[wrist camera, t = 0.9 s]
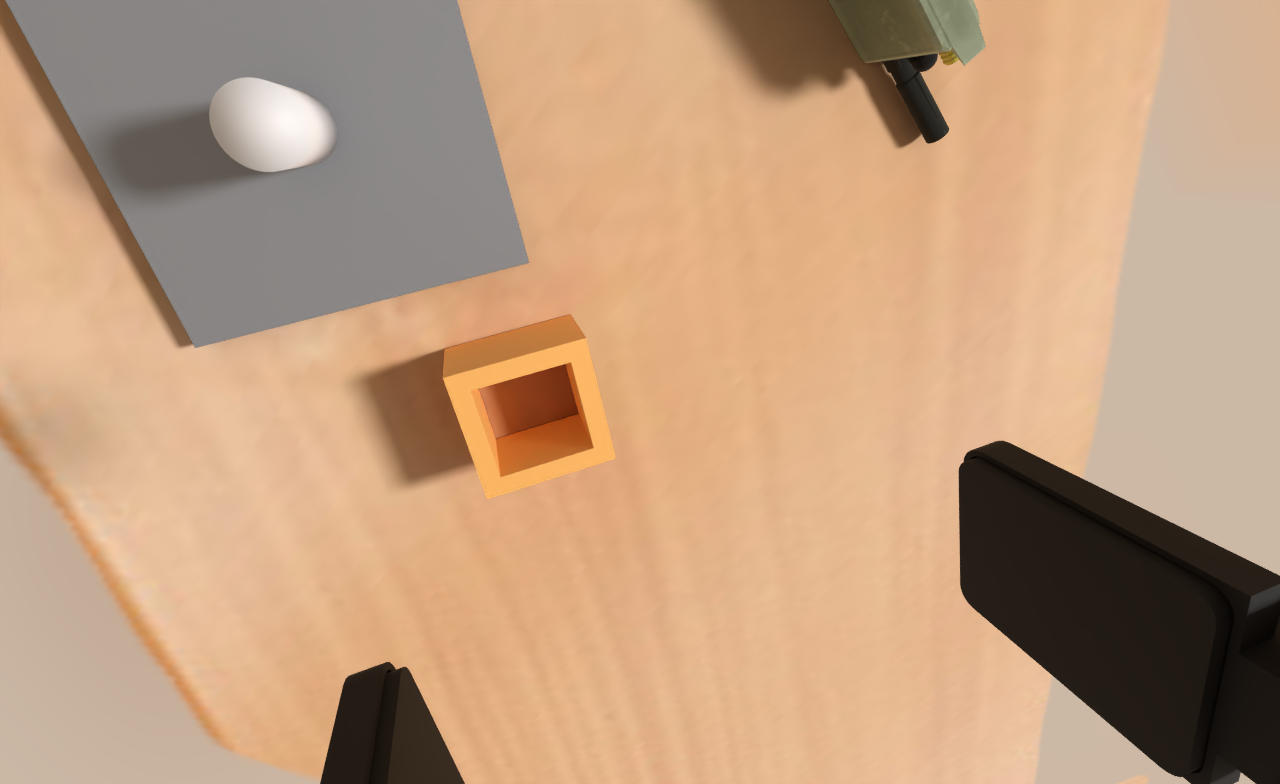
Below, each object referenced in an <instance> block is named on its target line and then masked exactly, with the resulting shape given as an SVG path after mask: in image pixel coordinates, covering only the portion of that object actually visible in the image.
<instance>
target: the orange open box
mask: <svg viewBox="0 0 1280 784" xmlns="http://www.w3.org/2000/svg"><path fill="white" fill-rule="evenodd" d="M563 364H565V365H566V369H567V373H568V376H569V380H570V384H571V387H572V391H573V395H574V399H575V402H576V406H577V410H578V413H579V414H577V415H573V416H570V417H567V418H564V419H560V420H557V421H554V422H550V423H547V424H544V425H540V426H537V427H534V428H530V429H527V430H524V431H520V432H517V433H514V434H510V435H507V436H504V437H501V438H497V439H495V436H494V433H493V430H492V427H491V424H490V421H489V418H488V415H487V412H486V409H485V407H484V404H483V401H482V398H481V395H480V392H479V388H483V387H486V386H490V385H493V384H497V383H500V382H504V381H507V380H511V379H514V378H518V377H521V376H525V375H528V374H532V373H535V372H539V371H542V370H546V369H549V368H553V367H556V366H560V365H563ZM443 380H444V383H445V386H446V388H447V391H448V394H449V396H450V399H451V402H452V405H453V407H454V410H455V413H456V416H457V418H458V421H459V424H460V426H461V429H462V432H463V435H464V437H465V440H466V443H467V446H468V448H469V451H470V454H471V456H472V459H473V462H474V465H475V467H476V470H477V473H478V476H479V478H480V481H481V484H482V486H483V489H484V492H485V495H486V497H487V499H489V498H493V497H496V496H499V495H502V494H505V493H508V492H511V491H515V490H518V489H521V488H524V487H527V486H530V485H533V484H537V483H540V482H543V481H546V480H549V479H552V478H556V477H559V476H562V475H565V474H568V473H571V472H574V471H578V470H581V469H584V468H587V467H590V466H593V465H596V464H600V463H603V462H606V461H609V460H612V459H615V458H616V457H615V453H614V449H613V445H612V441H611V437H610V433H609V429H608V425H607V421H606V417H605V413H604V409H603V405H602V401H601V397H600V393H599V388H598V384H597V380H596V376H595V372H594V368H593V364H592V360H591V356H590V352H589V348H588V344H587V340H586V337H585V336H584V334H583V333H582V331H581V330H580V328H579V326H578V325H577V323H576V322H575V320H574V319H573V317H572V316H571V314H570V315H567V316H563V317H559V318H556V319H552V320H548V321H545V322H541V323H537V324H534V325H530V326H526V327H523V328H519V329H515V330H512V331H508V332H504V333H501V334H497V335H493V336H490V337H486V338H482V339H479V340H475V341H471V342H468V343H464V344H460V345H457V346H453V347H449V348H446V349H444V365H443Z"/></svg>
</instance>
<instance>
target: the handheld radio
mask: <svg viewBox="0 0 1280 784" xmlns="http://www.w3.org/2000/svg"><path fill="white" fill-rule="evenodd" d="M828 1H829V3H830V4H831V6H832V8H833V10H834V11H835V13H836V15H837V17H838V19H839V20H840V22H841V24H842V26H843V27H844V29H845V31H846V33H847V35H848V36H849V38H850V40H851V42H852V44H853V45H854V47H855V49H856V51H857V52H858V54H859V56H860V58H861V59H862V60H863V61H864V62H865V63H874V62H881V61H882V62H883V64H884V66H885V67H886V69H887V71H888V72H889V73H891V74H892V76H893V78H894V80H895V82H896V87H897V89H898V91H899V92H900V94H901V96H902V98H903V100H904V102H905V104H906V105H907V107H908V109H909V111H910V113H911V115H912V117H913V118H914V120H915V122H916V124H917V126H918V128H919V130H920V132H921V133H922V135H923V137H924V139H925V141H926V143H933V142H936V141H938V140H940V139H941V138H943V137H944V136H945V135H946V134H947V133H948V131H949V127H948V126H947V124H946V122H945V120H944V118H943V116H942V114H941V112H940V110H939V108H938V106H937V104H936V102H935V100H934V98H933V97H932V95H931V93H930V91H929V89H928V87H927V85H926V83H925V81H924V79H923V77H922V75H921V73H920V72H923V71H927V70H929V69H930V68H931V67H932V66H933V65H934V64H935V63H936V61H937V57H938V53H939V55H940V56H941V59H942V60H943V63H944V64H946V65H951V64H953V63H955V62H956V61H958V60H960V61H961V62H962V63H963V65H964V66H965V65H966V64H967V63H968V62H969V61H971V60H972V59H973V58H974V57H975V56H976V55H977V54H979V53H980V52H981V51H982V50H983V49H984V48H985V47H986V46H985V42H984V39H983V36H982V33H981V30H980V26H979V24H980V22H979V15H978V10H977V8H976V6H975V4H974V1H973V0H828Z"/></svg>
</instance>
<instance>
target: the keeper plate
mask: <svg viewBox="0 0 1280 784" xmlns="http://www.w3.org/2000/svg"><path fill="white" fill-rule="evenodd" d="M5 1H6V2H7V4H8V6H9V8H10V10H11V12H12V13H13V15H14V17H15V19H16V21H17V23H18V24H19V26H20V28H21V30H22V32H23V34H24V35H25V37H26V39H27V41H28V43H29V45H30V46H31V48H32V50H33V52H34V54H35V56H36V57H37V59H38V61H39V63H40V65H41V67H42V68H43V70H44V72H45V74H46V76H47V78H48V79H49V81H50V83H51V85H52V87H53V88H54V90H55V92H56V94H57V96H58V98H59V99H60V101H61V103H62V105H63V107H64V109H65V110H66V112H67V114H68V116H69V118H70V120H71V121H72V123H73V125H74V127H75V129H76V131H77V132H78V134H79V136H80V138H81V140H82V142H83V143H84V145H85V147H86V149H87V151H88V153H89V154H90V156H91V158H92V160H93V162H94V164H95V165H96V167H97V169H98V171H99V173H100V175H101V176H102V178H103V180H104V182H105V184H106V186H107V187H108V189H109V191H110V193H111V195H112V197H113V198H114V200H115V202H116V204H117V206H118V207H119V209H120V211H121V213H122V215H123V217H124V218H125V220H126V222H127V224H128V226H129V228H130V229H131V231H132V233H133V235H134V237H135V239H136V240H137V242H138V244H139V246H140V248H141V250H142V251H143V253H144V255H145V257H146V259H147V261H148V262H149V264H150V266H151V268H152V270H153V272H154V273H155V275H156V277H157V279H158V281H159V283H160V284H161V286H162V288H163V290H164V292H165V294H166V295H167V297H168V299H169V301H170V303H171V305H172V306H173V308H174V310H175V312H176V314H177V316H178V317H179V319H180V321H181V323H182V325H183V327H184V328H185V330H186V332H187V334H188V336H189V337H190V339H191V341H192V343H193V345H194V347H195V348H197V347H201V346H205V345H209V344H213V343H217V342H221V341H225V340H228V339H232V338H236V337H240V336H244V335H248V334H252V333H256V332H260V331H264V330H268V329H272V328H275V327H279V326H283V325H287V324H291V323H295V322H299V321H303V320H307V319H311V318H315V317H319V316H322V315H326V314H330V313H334V312H338V311H342V310H346V309H350V308H354V307H358V306H362V305H366V304H370V303H373V302H377V301H381V300H385V299H389V298H393V297H397V296H401V295H405V294H409V293H413V292H417V291H420V290H424V289H428V288H432V287H436V286H440V285H444V284H448V283H452V282H456V281H460V280H464V279H467V278H471V277H475V276H479V275H483V274H487V273H491V272H495V271H499V270H503V269H507V268H511V267H515V266H518V265H522V264H526V263H529V260H528V257H527V253H526V249H525V246H524V242H523V239H522V235H521V231H520V228H519V224H518V220H517V217H516V213H515V209H514V206H513V202H512V199H511V195H510V191H509V188H508V184H507V180H506V177H505V173H504V170H503V166H502V162H501V159H500V155H499V151H498V148H497V144H496V140H495V137H494V133H493V130H492V126H491V122H490V119H489V115H488V111H487V108H486V104H485V100H484V97H483V93H482V90H481V86H480V82H479V79H478V75H477V71H476V68H475V64H474V61H473V57H472V53H471V50H470V46H469V42H468V39H467V35H466V31H465V28H464V24H463V21H462V17H461V13H460V10H459V6H458V2H457V0H5Z"/></svg>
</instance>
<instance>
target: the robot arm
mask: <svg viewBox="0 0 1280 784" xmlns="http://www.w3.org/2000/svg"><path fill="white" fill-rule="evenodd" d="M959 525H960V585H961V590H962V593H963V595H964V597H965V599H966V600H967V602H968V603H969V604H970V605H971V606H972V607H973V608H974V609H975V610H976V611H977V612H978V613H980V614H981V615H982V616H983V617H984V618H986V619H987V620H988V621H989V622H990V623H991V624H993V625H994V626H995V627H996V628H997V629H998V630H1000V631H1001V632H1002V633H1003V634H1004V635H1006V636H1007V637H1008V638H1009V639H1010V640H1011V641H1013V642H1014V643H1015V644H1016V645H1017V646H1018V647H1020V648H1021V649H1022V650H1023V651H1024V652H1026V653H1027V654H1028V655H1029V656H1030V657H1031V658H1033V659H1034V660H1035V661H1036V662H1037V663H1038V664H1040V665H1041V666H1042V667H1043V668H1044V669H1046V670H1047V671H1048V672H1049V673H1050V674H1051V675H1053V676H1054V677H1055V678H1056V679H1057V680H1059V681H1060V682H1061V683H1062V684H1063V685H1064V686H1066V687H1067V688H1068V689H1069V690H1070V691H1072V692H1073V693H1074V694H1075V695H1076V696H1077V697H1078V698H1080V699H1081V700H1082V701H1083V702H1084V703H1086V704H1087V705H1088V706H1089V707H1090V708H1091V709H1093V710H1094V711H1095V712H1096V713H1097V714H1098V715H1100V716H1101V717H1102V718H1103V719H1104V720H1105V721H1107V722H1108V723H1109V724H1110V725H1111V726H1113V727H1114V728H1115V729H1116V730H1117V731H1118V732H1120V733H1121V734H1122V735H1123V736H1124V737H1125V738H1127V739H1128V740H1129V741H1130V742H1132V743H1133V744H1134V745H1135V746H1136V747H1137V748H1138V749H1140V750H1141V751H1142V752H1143V753H1144V754H1145V755H1147V756H1148V757H1149V758H1150V759H1151V760H1153V761H1154V762H1155V763H1156V764H1157V765H1158V766H1160V767H1161V768H1162V769H1164V770H1165V771H1166V772H1168V773H1170V774H1172V775H1174V776H1178V777H1184V778H1185V779H1186V780H1187V781H1188V782H1190V783H1191V784H1234V783H1235V782H1238V781H1239V777H1240V773H1241V772H1242V773H1243V774H1244V775H1245V776H1247V777H1248V778H1250V779H1251V780H1252V781H1253V782H1255V783H1256V784H1280V576H1279V575H1277V574H1275V573H1273V572H1271V571H1269V570H1267V569H1265V568H1263V567H1261V566H1259V565H1257V564H1255V563H1253V562H1251V561H1249V560H1246V559H1245V558H1242V557H1240V556H1238V555H1236V554H1234V553H1232V552H1230V551H1228V550H1226V549H1224V548H1222V547H1220V546H1218V545H1216V544H1214V543H1212V542H1210V541H1208V540H1205V539H1204V538H1202V537H1199V536H1198V535H1196V534H1194V533H1191V532H1190V531H1188V530H1185V529H1183V528H1181V527H1179V526H1177V525H1175V524H1173V523H1171V522H1169V521H1167V520H1165V519H1163V518H1161V517H1159V516H1157V515H1155V514H1153V513H1151V512H1149V511H1147V510H1145V509H1143V508H1141V507H1139V506H1137V505H1134V504H1133V503H1131V502H1129V501H1126V500H1125V499H1122V498H1120V497H1118V496H1116V495H1114V494H1112V493H1110V492H1108V491H1106V490H1104V489H1102V488H1100V487H1098V486H1096V485H1094V484H1092V483H1090V482H1088V481H1086V480H1084V479H1082V478H1080V477H1078V476H1076V475H1074V474H1072V473H1070V472H1068V471H1066V470H1063V469H1061V468H1059V467H1057V466H1055V465H1053V464H1051V463H1049V462H1047V461H1045V460H1043V459H1041V458H1039V457H1037V456H1035V455H1033V454H1031V453H1029V452H1027V451H1025V450H1023V449H1021V448H1019V447H1017V446H1015V445H1013V444H1011V443H1008V442H1005V441H996V442H993V443H990V444H988V445H985V446H982V447H979V448H976V449H974V450H971V451H969V452H968V453H967V454H966V455H965V457H964V463H962V464H961V465H960V467H959ZM320 784H465V783H464V781H463V779H462V777H461V775H460V773H459V771H458V769H457V767H456V765H455V763H454V761H453V759H452V757H451V754H450V752H449V750H448V748H447V746H446V744H445V742H444V740H443V738H442V736H441V734H440V732H439V730H438V728H437V726H436V724H435V722H434V720H433V718H432V716H431V714H430V712H429V709H428V707H427V705H426V703H425V701H424V699H423V697H422V695H421V693H420V691H419V689H418V687H417V685H416V683H415V681H414V679H413V677H412V675H411V673H410V671H409V669H408V668H406V667H402V668H400V669H397V670H396V669H395V667H394V666H393V665H392V664H391V663H390V662H386V663H383V664H380V665H377V666H375V667H372V668H369V669H366V670H364V671H361V672H358V673H355V674H353V675H350V676H348V677H347V678H346V680H345V682H344V685H343V689H342V693H341V697H340V702H339V706H338V710H337V714H336V719H335V723H334V727H333V731H332V736H331V740H330V744H329V748H328V753H327V757H326V761H325V765H324V770H323V774H322V778H321V782H320Z"/></svg>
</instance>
